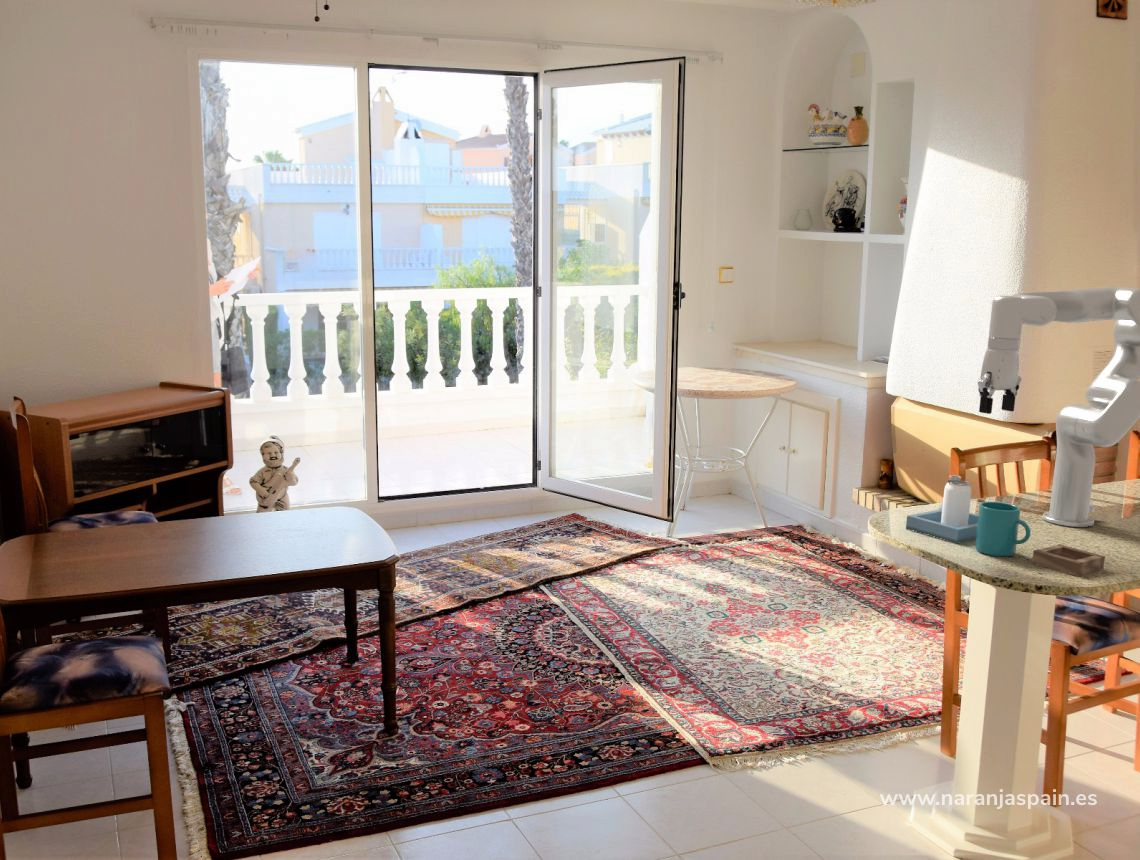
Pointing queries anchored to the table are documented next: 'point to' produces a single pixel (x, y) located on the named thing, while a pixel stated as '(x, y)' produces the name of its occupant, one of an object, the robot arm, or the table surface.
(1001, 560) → the table surface
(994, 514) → the cup
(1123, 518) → the table surface
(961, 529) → the tray
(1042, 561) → the holder
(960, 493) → the can
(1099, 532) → the table surface
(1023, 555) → the table surface
